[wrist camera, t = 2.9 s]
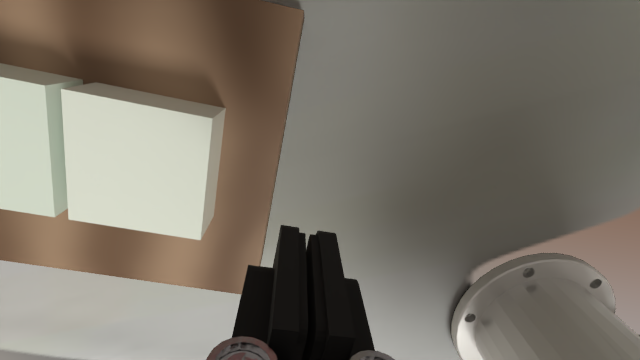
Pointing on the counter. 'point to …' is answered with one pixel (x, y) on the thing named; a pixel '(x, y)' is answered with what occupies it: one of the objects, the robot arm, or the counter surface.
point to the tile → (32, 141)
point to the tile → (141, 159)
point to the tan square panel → (177, 82)
